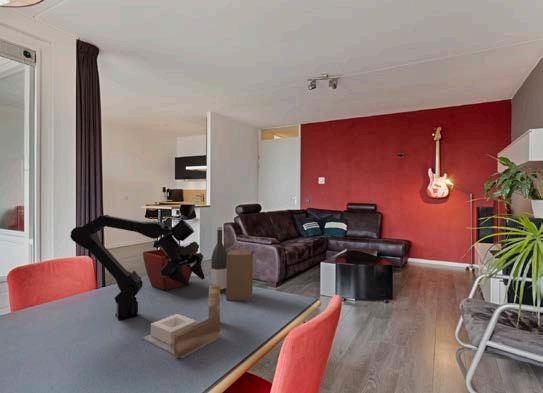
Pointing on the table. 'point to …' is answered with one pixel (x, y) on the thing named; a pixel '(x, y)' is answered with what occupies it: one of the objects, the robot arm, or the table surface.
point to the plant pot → (153, 267)
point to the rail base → (190, 338)
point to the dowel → (214, 301)
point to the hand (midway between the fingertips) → (196, 282)
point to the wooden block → (239, 275)
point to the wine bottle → (219, 263)
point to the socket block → (170, 327)
